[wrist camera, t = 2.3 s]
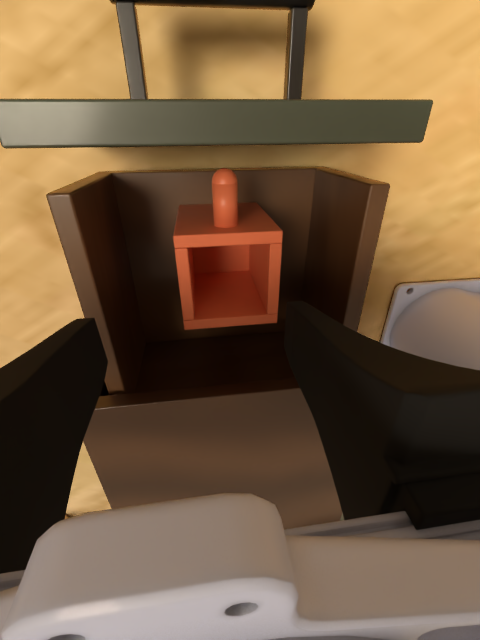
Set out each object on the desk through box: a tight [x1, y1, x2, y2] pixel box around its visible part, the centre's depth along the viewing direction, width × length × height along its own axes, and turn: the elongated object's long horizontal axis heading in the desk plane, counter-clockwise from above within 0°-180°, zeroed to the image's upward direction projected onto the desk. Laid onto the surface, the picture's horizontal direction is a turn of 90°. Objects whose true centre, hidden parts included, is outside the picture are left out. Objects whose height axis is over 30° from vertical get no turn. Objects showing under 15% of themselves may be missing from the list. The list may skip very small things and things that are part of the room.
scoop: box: [173, 168, 283, 330], centre depth 15 cm, size 6×4×6 cm
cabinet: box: [83, 377, 342, 530], centre depth 22 cm, size 15×15×9 cm
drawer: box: [0, 0, 433, 395], centre depth 15 cm, size 18×13×7 cm
